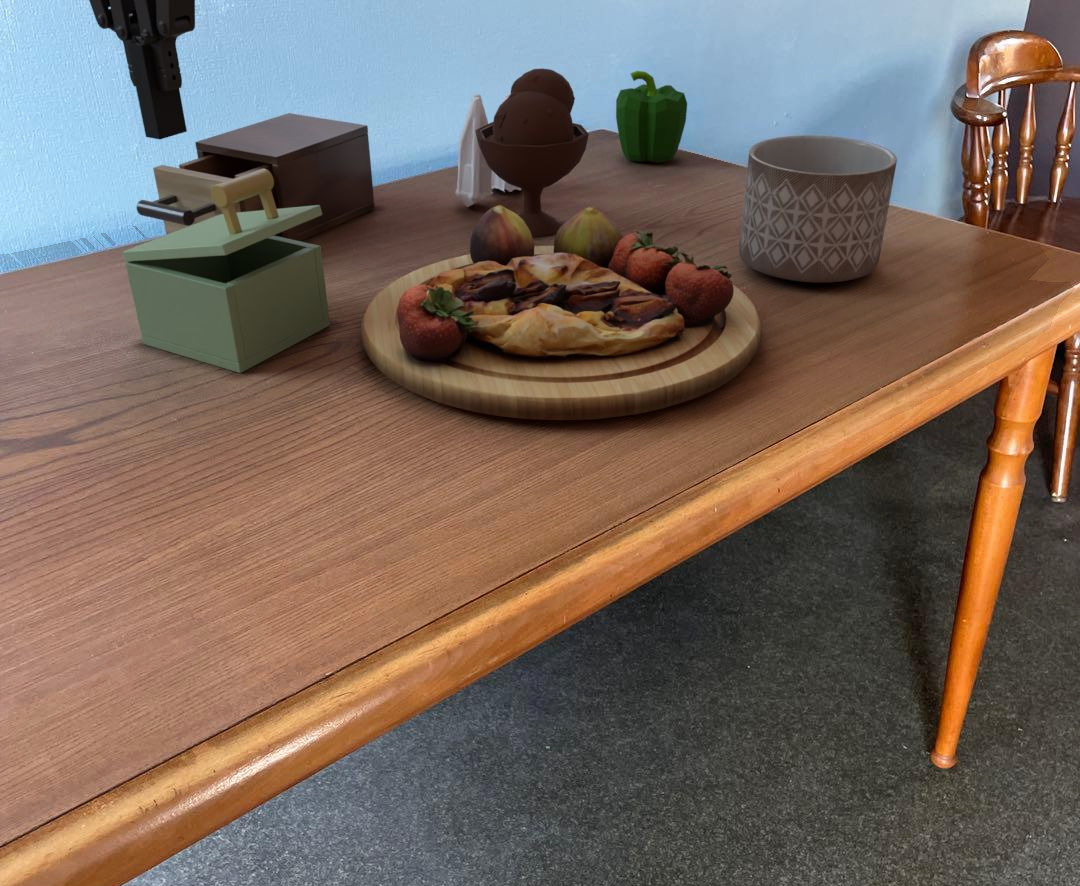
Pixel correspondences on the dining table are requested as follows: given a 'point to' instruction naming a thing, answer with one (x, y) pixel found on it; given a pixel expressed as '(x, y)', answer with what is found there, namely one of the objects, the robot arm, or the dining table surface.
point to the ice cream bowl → (534, 141)
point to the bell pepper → (650, 120)
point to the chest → (232, 302)
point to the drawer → (198, 190)
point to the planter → (816, 207)
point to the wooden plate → (561, 324)
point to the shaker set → (475, 160)
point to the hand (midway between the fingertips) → (166, 133)
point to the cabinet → (307, 165)
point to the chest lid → (228, 223)
